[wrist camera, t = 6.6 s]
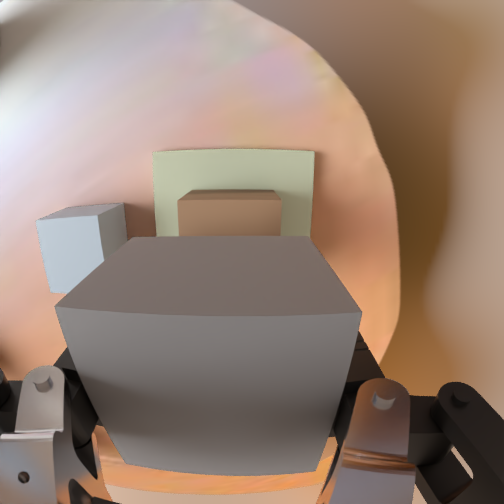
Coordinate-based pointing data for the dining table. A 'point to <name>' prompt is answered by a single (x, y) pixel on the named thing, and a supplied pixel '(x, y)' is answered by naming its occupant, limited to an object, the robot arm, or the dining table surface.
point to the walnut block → (230, 213)
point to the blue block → (79, 242)
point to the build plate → (235, 181)
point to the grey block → (214, 351)
